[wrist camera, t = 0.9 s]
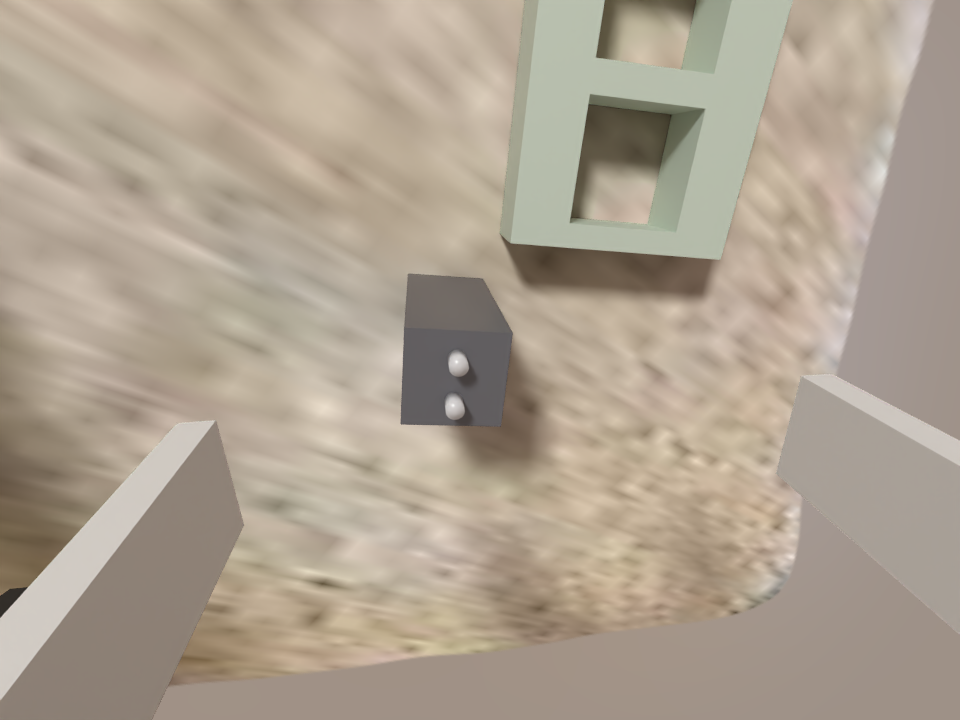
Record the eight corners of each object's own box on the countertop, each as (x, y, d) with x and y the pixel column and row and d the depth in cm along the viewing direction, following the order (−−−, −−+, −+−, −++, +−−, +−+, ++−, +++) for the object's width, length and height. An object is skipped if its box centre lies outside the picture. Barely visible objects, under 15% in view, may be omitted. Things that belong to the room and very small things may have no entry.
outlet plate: (499, 233, 29) (510, 243, 25) (537, -117, 23) (557, -162, 19) (688, 248, 30) (720, 259, 27) (769, -72, 24) (822, -108, 21)
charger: (405, 344, 31) (400, 436, 20) (407, 273, 29) (403, 335, 19) (475, 347, 31) (504, 438, 21) (482, 278, 30) (517, 341, 19)
